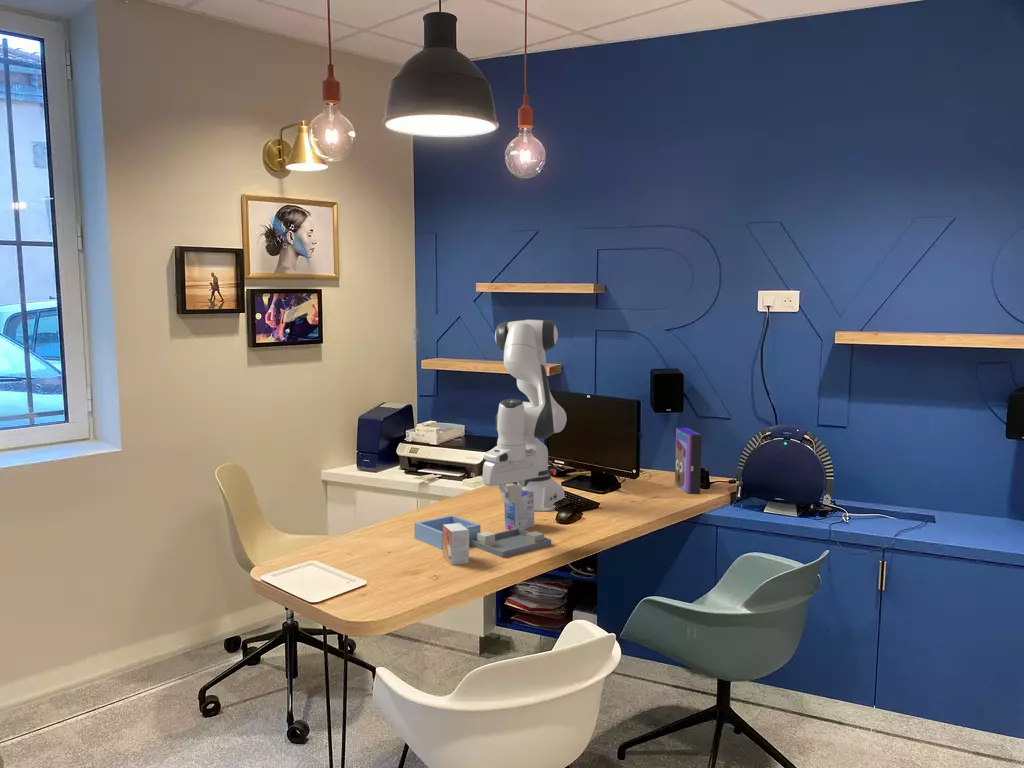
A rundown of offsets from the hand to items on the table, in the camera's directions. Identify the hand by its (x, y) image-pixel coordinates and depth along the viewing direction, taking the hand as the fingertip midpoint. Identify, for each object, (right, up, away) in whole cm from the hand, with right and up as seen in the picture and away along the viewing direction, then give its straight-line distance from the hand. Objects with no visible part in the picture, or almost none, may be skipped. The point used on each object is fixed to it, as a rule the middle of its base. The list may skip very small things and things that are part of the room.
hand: (511, 495), depth 252 cm
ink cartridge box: (+3, -14, +21) cm, 26 cm away
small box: (-16, -18, -13) cm, 28 cm away
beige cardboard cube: (0, -2, 0) cm, 2 cm away
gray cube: (+7, -16, +2) cm, 17 cm away
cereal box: (+72, -8, +80) cm, 108 cm away
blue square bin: (-20, -15, +7) cm, 26 cm away
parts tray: (0, -16, +2) cm, 16 cm away
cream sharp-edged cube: (-8, -15, +1) cm, 17 cm away
